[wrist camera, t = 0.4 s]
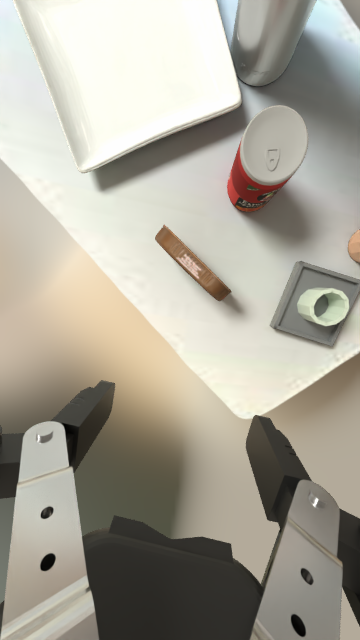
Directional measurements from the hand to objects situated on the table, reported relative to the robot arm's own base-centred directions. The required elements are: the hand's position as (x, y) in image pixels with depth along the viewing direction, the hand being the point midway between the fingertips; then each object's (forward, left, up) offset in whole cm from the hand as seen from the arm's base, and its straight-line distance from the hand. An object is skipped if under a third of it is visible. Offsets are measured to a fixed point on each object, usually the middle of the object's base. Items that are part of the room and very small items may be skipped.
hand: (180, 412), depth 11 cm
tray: (-10, +20, -28) cm, 36 cm away
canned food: (-25, +3, -28) cm, 38 cm away
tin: (-10, -2, -29) cm, 30 cm away
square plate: (-37, -21, -29) cm, 51 cm away
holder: (-10, +20, -27) cm, 35 cm away
